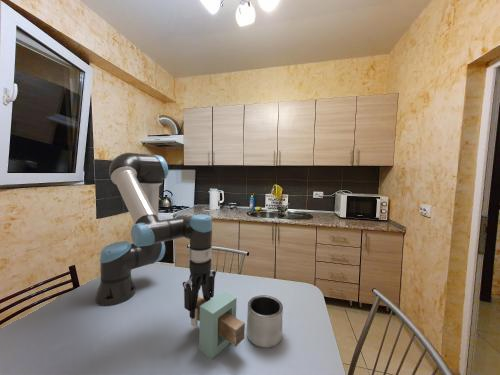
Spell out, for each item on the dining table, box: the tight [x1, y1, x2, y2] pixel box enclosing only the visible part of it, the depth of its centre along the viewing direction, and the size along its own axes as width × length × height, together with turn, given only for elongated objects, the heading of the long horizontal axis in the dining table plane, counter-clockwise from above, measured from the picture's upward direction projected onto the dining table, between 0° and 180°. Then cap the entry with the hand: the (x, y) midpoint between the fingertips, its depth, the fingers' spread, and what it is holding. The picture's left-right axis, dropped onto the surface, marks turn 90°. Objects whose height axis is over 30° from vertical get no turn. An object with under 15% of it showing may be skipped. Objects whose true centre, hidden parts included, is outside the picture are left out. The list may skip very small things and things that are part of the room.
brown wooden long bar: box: [196, 296, 246, 347], centre depth 72 cm, size 22×4×5 cm, turn 53°
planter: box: [246, 294, 284, 348], centre depth 75 cm, size 13×13×11 cm
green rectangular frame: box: [198, 291, 237, 360], centre depth 71 cm, size 6×11×14 cm, turn 143°
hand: (199, 321), depth 77 cm, fingers closed on brown wooden long bar, 4 cm apart
